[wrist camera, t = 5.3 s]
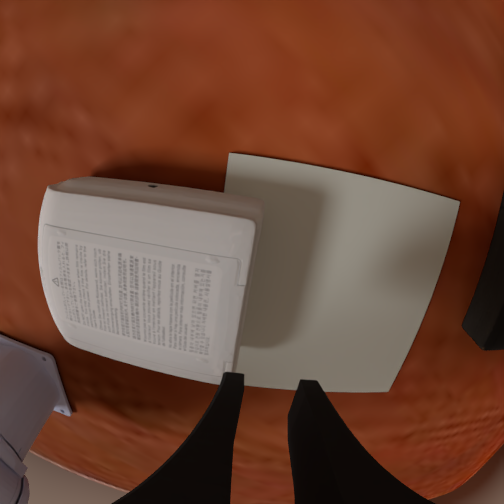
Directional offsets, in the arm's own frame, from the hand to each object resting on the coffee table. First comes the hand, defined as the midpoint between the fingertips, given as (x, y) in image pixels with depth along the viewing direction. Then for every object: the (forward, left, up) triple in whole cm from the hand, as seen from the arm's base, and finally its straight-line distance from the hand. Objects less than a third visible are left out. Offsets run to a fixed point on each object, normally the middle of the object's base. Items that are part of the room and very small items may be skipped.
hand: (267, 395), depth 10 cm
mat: (+4, 0, -8) cm, 9 cm away
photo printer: (-1, +1, -6) cm, 6 cm away
